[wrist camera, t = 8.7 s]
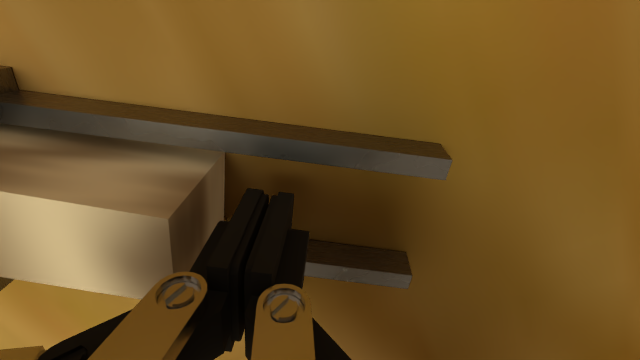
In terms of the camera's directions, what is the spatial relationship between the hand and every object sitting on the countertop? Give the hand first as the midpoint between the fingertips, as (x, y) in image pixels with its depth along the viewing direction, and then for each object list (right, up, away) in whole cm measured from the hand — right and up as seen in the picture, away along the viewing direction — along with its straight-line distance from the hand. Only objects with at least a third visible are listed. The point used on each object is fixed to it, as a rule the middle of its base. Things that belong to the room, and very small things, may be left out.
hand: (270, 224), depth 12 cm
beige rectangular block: (-8, +2, +2) cm, 9 cm away
